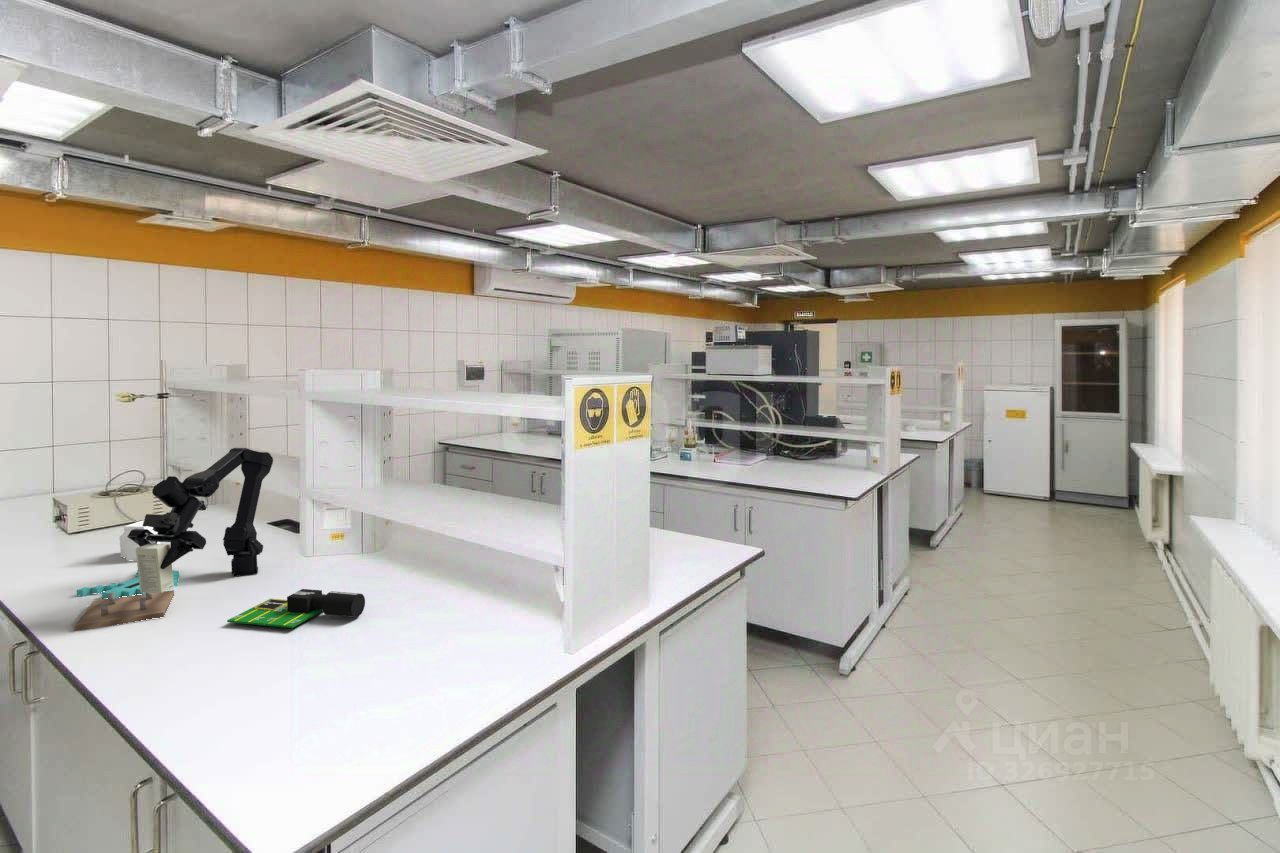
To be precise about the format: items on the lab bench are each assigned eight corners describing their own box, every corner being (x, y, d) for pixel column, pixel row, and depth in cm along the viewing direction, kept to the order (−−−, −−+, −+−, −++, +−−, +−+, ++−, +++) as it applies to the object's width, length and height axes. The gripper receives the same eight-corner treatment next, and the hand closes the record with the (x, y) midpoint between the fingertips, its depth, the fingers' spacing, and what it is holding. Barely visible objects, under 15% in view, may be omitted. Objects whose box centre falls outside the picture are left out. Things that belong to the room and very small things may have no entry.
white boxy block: (146, 561, 211) (143, 526, 210) (112, 561, 211) (110, 526, 210) (170, 552, 222) (168, 518, 220) (138, 551, 222) (135, 518, 220)
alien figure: (77, 597, 181) (134, 603, 177) (76, 589, 180) (133, 595, 176) (144, 574, 200) (197, 579, 196) (144, 567, 200) (197, 572, 196)
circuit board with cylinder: (225, 600, 161) (269, 580, 176) (227, 626, 162) (270, 604, 177) (331, 609, 156) (367, 588, 171) (332, 636, 157) (368, 612, 172)
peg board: (174, 595, 182) (173, 580, 181) (163, 617, 166) (162, 601, 166) (93, 606, 173) (92, 590, 173) (74, 631, 158) (73, 613, 157)
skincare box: (174, 587, 170) (171, 543, 168) (161, 593, 165) (158, 548, 164) (152, 586, 170) (149, 542, 169) (138, 592, 166) (134, 547, 164)
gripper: (130, 499, 170) (95, 552, 160) (195, 502, 168) (163, 555, 159) (157, 520, 179) (125, 571, 169) (219, 522, 177) (190, 574, 167)
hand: (150, 567), depth 166 cm, fingers closed on skincare box, 6 cm apart
